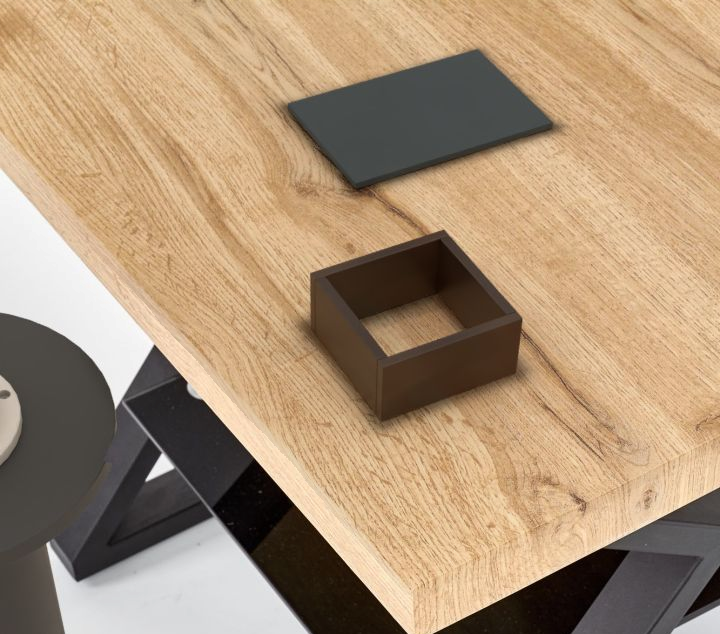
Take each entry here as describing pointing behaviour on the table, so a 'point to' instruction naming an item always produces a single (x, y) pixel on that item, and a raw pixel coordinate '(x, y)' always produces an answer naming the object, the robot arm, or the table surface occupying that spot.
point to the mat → (418, 117)
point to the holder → (425, 362)
